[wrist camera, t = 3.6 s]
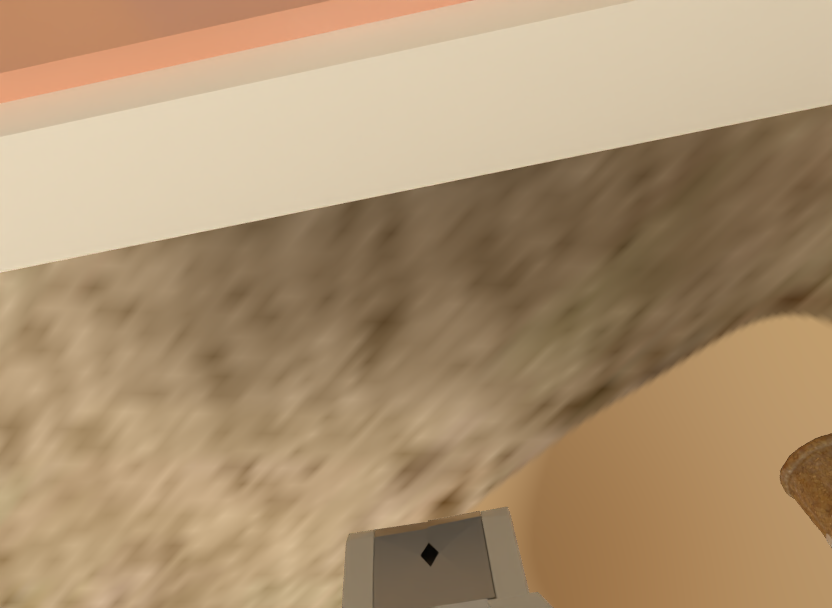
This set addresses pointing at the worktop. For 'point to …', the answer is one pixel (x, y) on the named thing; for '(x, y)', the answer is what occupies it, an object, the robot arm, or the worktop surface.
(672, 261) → the worktop surface
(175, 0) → the tile
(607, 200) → the worktop surface
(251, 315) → the worktop surface
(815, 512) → the sprinkles bottle
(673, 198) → the worktop surface
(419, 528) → the robot arm
